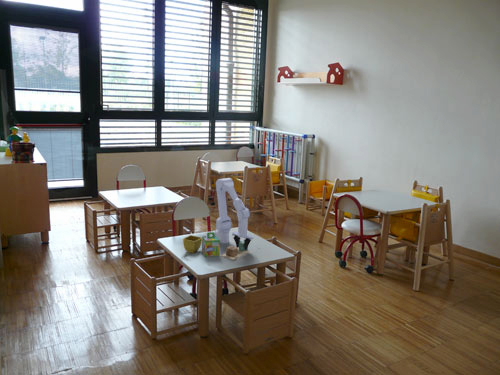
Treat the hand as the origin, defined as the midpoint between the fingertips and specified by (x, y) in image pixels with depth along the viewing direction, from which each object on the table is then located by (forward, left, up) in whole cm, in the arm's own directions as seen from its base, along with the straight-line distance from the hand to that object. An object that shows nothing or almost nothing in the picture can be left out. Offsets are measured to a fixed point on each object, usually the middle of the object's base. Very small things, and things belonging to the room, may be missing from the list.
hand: (241, 248), depth 269 cm
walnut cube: (0, -12, -1) cm, 12 cm away
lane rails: (0, -4, -3) cm, 4 cm away
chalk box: (-12, -17, -3) cm, 21 cm away
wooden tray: (0, -8, -3) cm, 8 cm away
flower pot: (-25, -18, -3) cm, 31 cm away
